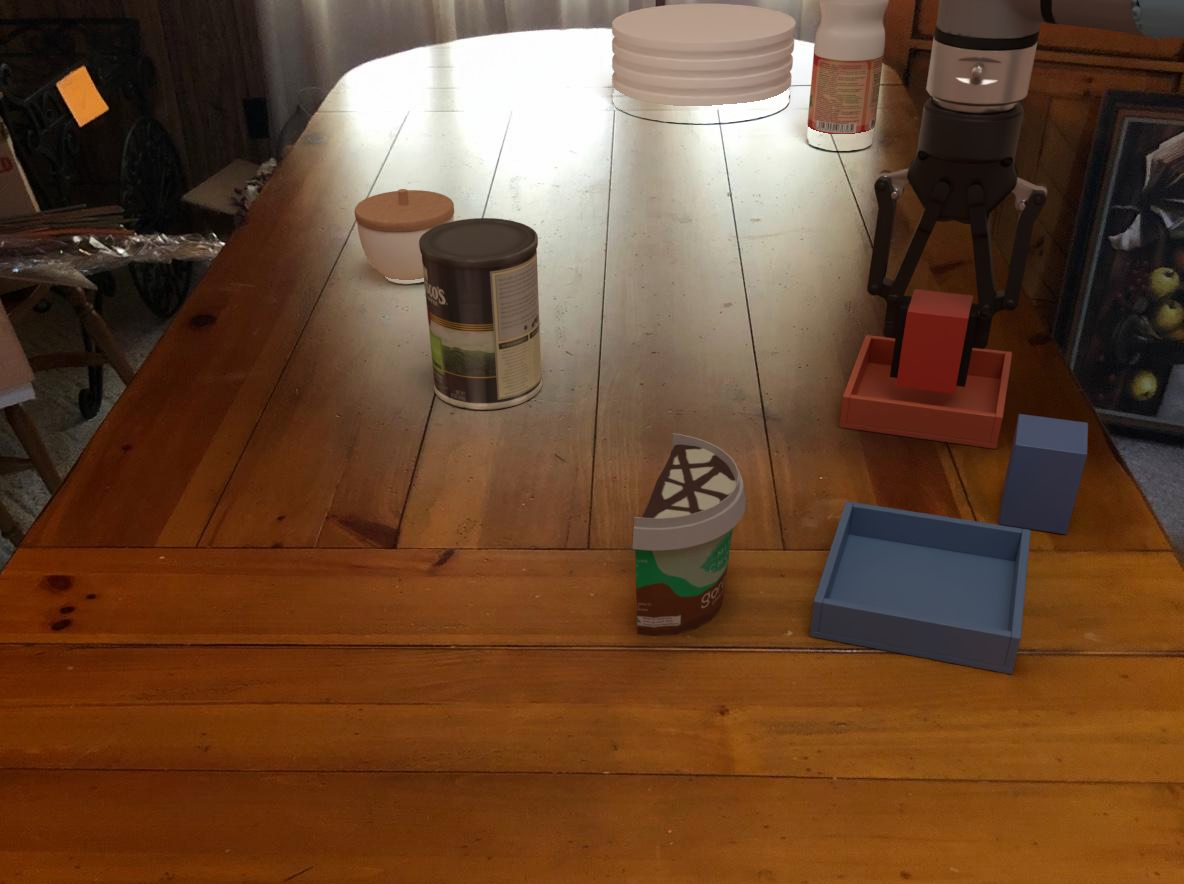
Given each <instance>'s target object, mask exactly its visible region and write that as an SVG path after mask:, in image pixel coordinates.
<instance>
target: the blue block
mask: <svg viewBox="0 0 1184 884" xmlns="http://www.w3.org/2000/svg"><path fill="white" fill-rule="evenodd" d="M1088 437H1089V423H1088V422H1085V421H1076V420H1069V419H1062V418H1061V419H1060V418H1052V417H1047V416H1038V415H1030V414H1023V413H1019V414H1018V416H1017V421H1016V424H1015V430H1014V435H1013V440H1012V443H1011V448H1010V449H1011V450H1010V452H1009V457H1008V461H1007V463H1008V464H1007V467H1006V472H1005V476H1004V480H1003V486H1002V491H1001V497H1000V503H999V504H1000V505H999V511H998V519H997V525H1002V526H1008V527H1015V528H1021V529H1027V530H1031V531H1032V530H1034V531H1038V532H1039V531H1040V532H1046V533H1051V534H1058V535H1065V536H1066V535H1067V534H1068V530H1069V526H1070V523H1071V519H1072V516H1073V511H1074V507H1075V505H1076V499H1077V496H1078V492H1079V489H1080V488H1079V487H1080V484H1081V480H1082V477H1083V473H1084V469H1085V464H1086V462H1087V457H1088V444H1089V443H1088V440H1089V439H1088Z"/></svg>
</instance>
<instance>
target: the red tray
mask: <svg viewBox="0 0 1184 884" xmlns="http://www.w3.org/2000/svg"><path fill="white" fill-rule="evenodd" d="M894 344H895V338H886V337H885V336H879V335H872V334H865V336H864V339H863V342H862V344H861V347H860V349H859V352H858V355H857V358H856V360H855V363H854V366H853V368H852V371H851V374H850V376H849V379H848V381H847V384H846V387H845V390H844V392H843V395H842V401H841V408H840V417H839V425H838V427H839V428H842V429H850V430H856V431H864V432H871V433H877V434H886V435H892V436H899V437H907V438H912V439H913V438H914V439H921V440H928V441H934V442H935V441H936V442H943V443H949V444H956V445H963V446H971V447H978V448H984V449H992V450H997V449H998V448H997V447H998V443H999V438H1000V434H1001V429H1002V424H1003V419H1004V412H1005V406H1006V399H1007V391H1008V385H1009V377H1010V371H1011V365H1012V358H1013V352H1012V351H1008V350H1007V351H1005V350H997V349H990V348H989V349H988V348H984V349H978V348H972V353H971V358H970V364H969V369H968V374H967V379H966V384H965V387H961V386H956V390H955V394H950V393H943V392H935V391H928V390H920V389H913V388H906V387H898V386H896V383H897V378H893V377H890V372H891V365H892V358H893V351H894Z"/></svg>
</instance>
